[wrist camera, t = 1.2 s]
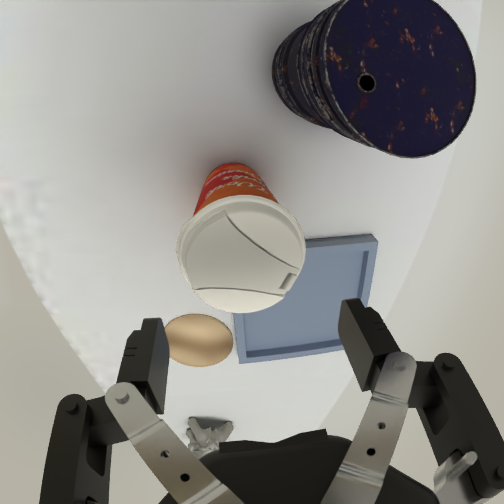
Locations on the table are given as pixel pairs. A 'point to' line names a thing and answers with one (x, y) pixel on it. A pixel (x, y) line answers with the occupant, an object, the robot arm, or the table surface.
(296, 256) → the paper cup
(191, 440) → the elephant statuette
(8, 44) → the table surface
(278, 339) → the tray
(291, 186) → the table surface
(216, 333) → the cork coaster
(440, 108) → the storage jar
